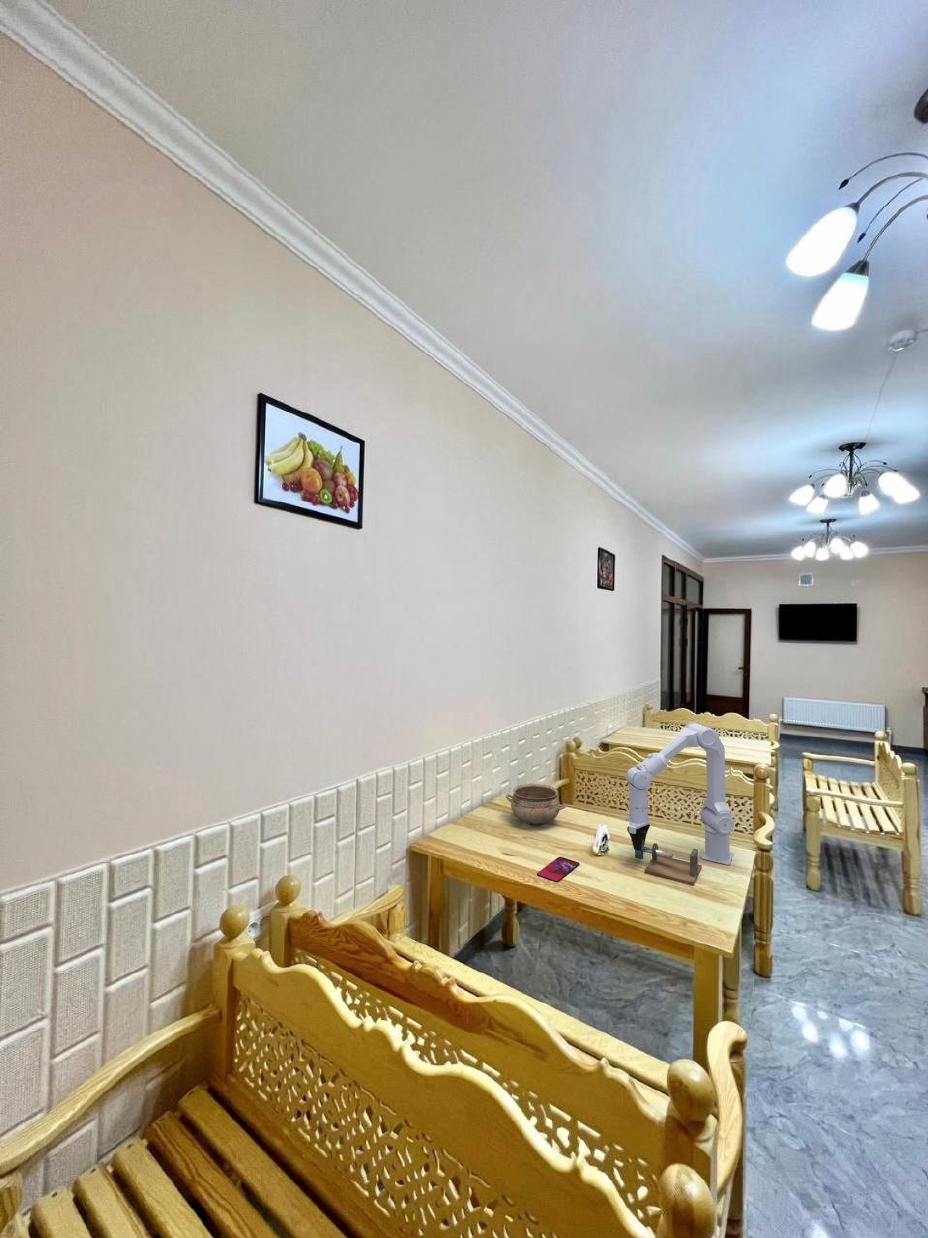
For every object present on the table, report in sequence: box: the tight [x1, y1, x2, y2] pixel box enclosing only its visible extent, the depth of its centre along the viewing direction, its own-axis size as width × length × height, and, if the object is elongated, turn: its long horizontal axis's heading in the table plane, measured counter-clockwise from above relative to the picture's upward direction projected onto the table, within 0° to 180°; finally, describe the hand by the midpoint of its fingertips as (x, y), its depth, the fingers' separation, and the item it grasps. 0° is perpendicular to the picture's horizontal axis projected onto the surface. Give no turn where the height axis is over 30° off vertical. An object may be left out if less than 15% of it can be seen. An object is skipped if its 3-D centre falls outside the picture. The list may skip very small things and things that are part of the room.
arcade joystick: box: [634, 842, 673, 861], centre depth 161 cm, size 5×11×8 cm, turn 55°
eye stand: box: [644, 847, 702, 887], centre depth 158 cm, size 13×14×7 cm
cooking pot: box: [505, 783, 568, 827], centre depth 197 cm, size 25×19×12 cm
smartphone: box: [536, 856, 580, 883], centre depth 159 cm, size 8×1×15 cm
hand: (638, 848), depth 163 cm, fingers closed on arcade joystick, 3 cm apart
